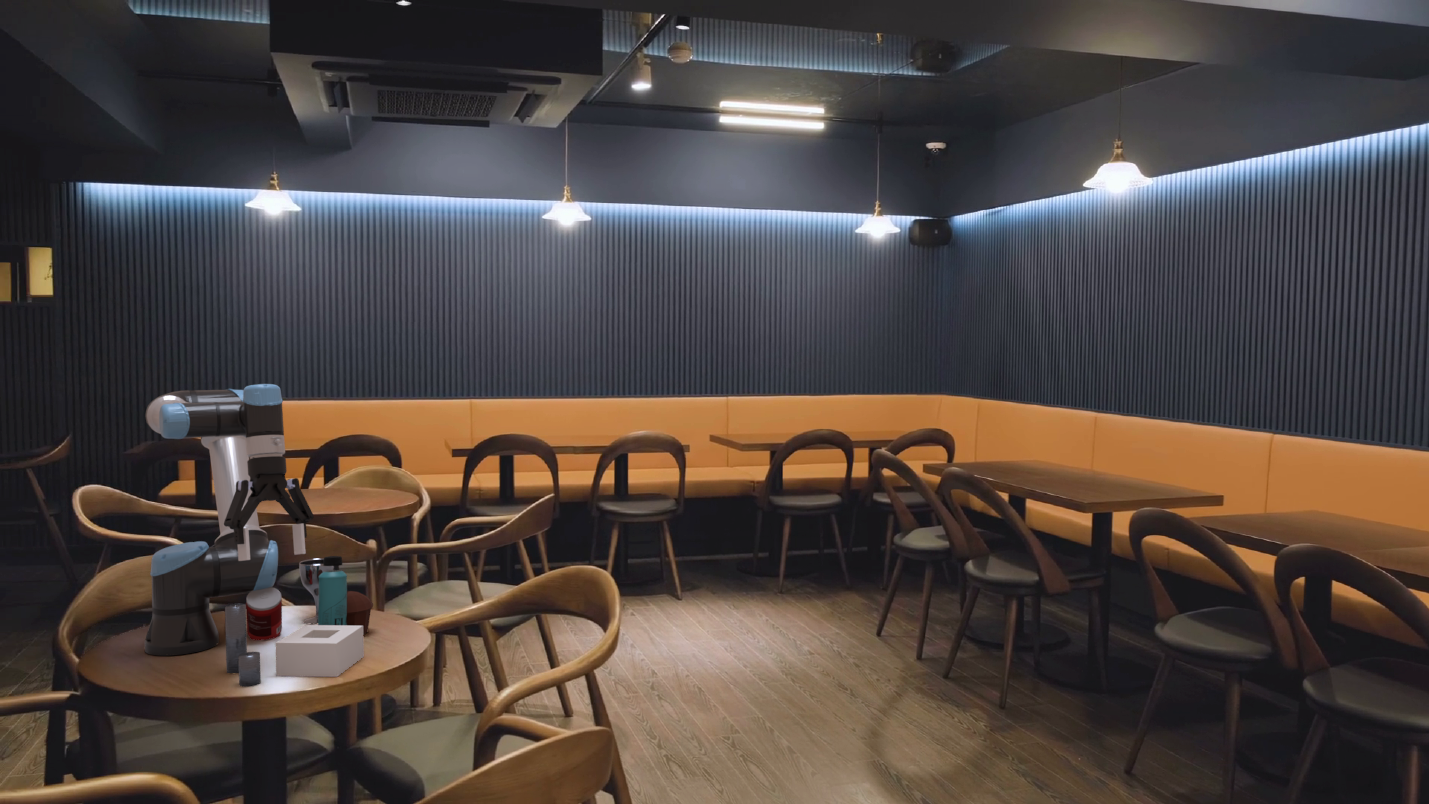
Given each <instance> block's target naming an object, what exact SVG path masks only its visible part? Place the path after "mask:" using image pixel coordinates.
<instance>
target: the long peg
mask: <svg viewBox="0 0 1429 804" xmlns="http://www.w3.org/2000/svg"><path fill="white" fill-rule="evenodd" d="M224 619H225V620H224V623H225V624H224V625H225V627H224V628H225V630H224V631H225V658H226V659H225V661H226V664H225V665H226V666H225V667H226V668H225V669H226V673H227V674H228V673H238V674H239V658H238V656H239V655H240V654H242V653H246V652H248V645H247V642H248V640H247V636H248V634H247V616H246V603H243V602H242V603H236V602H235V603H230V604H226V605H224Z"/></svg>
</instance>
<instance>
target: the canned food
mask: <svg viewBox="0 0 1429 804" xmlns="http://www.w3.org/2000/svg"><path fill="white" fill-rule="evenodd" d="M279 590H280V589H278V588H276V587H273V586H272V587H269V588H265V589H260V590H256V591H250V592H249V593H247V595H246V598H245V599H246V600H245V604H246V634H247V636H248V638H249V639H250V640H251V641H268V640H273V639H277V638H278V637H280V635H281V633H282V629H283V611H282V609H283V607H282V606H283V599H282V592H280V591H279Z"/></svg>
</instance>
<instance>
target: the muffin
mask: <svg viewBox="0 0 1429 804" xmlns="http://www.w3.org/2000/svg"><path fill="white" fill-rule="evenodd" d="M347 591H348V592H347V593H348V594H347V599H348V600H347V625H351V626H363V635H364V634H365V633H366V632H367V633H369V625H370V617H371V610H372V608H373V606H374V603H373V602H372V600H371V599H370V598H369V596H367V595H365V594H363V593H361V592H359V591H354V590H347ZM367 633H366V634H367ZM366 634H365V635H366ZM365 635H364V636H365Z"/></svg>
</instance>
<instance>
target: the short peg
mask: <svg viewBox="0 0 1429 804" xmlns="http://www.w3.org/2000/svg"><path fill="white" fill-rule="evenodd" d="M238 658H239V673H238V685H240V687H242V688H243V687H244V688H248V687H254V686H259V685H260V684H261V682H262V680H261V679H262V677H261V652H259V651H247V652H246V653H242V654H240V655H239V656H238Z"/></svg>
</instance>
